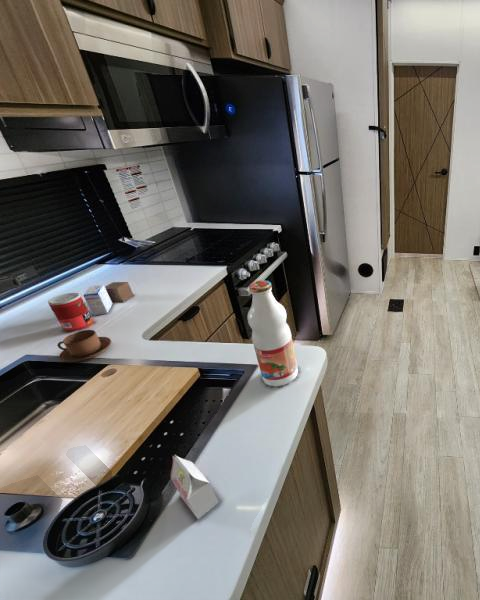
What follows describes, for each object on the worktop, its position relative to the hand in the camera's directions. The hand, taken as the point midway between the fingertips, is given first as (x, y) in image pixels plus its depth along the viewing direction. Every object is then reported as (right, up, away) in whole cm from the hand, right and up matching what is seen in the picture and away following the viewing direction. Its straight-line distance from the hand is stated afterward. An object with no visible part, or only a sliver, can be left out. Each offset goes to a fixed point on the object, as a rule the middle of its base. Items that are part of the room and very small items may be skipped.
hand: (10, 270), depth 94 cm
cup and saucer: (+16, -25, +7) cm, 31 cm away
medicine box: (0, -12, +30) cm, 33 cm away
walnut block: (-1, -8, +38) cm, 39 cm away
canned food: (0, -18, +20) cm, 27 cm away
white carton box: (+74, -46, -33) cm, 93 cm away
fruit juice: (+79, -29, -3) cm, 84 cm away
